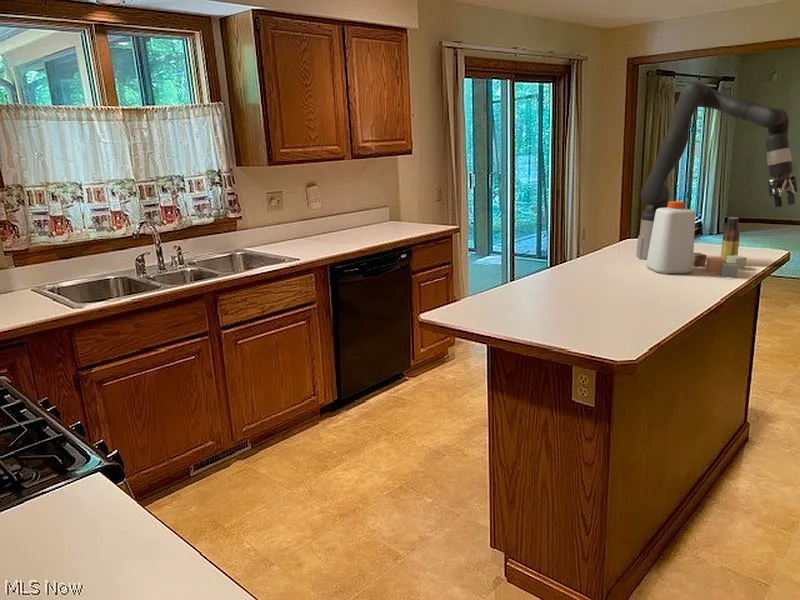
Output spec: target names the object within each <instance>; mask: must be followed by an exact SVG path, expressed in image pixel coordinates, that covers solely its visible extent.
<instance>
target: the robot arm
mask: <svg viewBox="0 0 800 600" xmlns="http://www.w3.org/2000/svg"><path fill="white" fill-rule="evenodd" d="M697 108H707V109H713V110H717V111H719V112H722V113H725V114H726V115H727V116H731V117H733V118H736V119H740V120H741V121H742V120H743V121H747V122H751V123H753V124H755V125H757V126H760V127H763V128H767V131H768V132H767V133H768V134H767V137H766V139H765V147H766V162H767V169H768V176H769V177H770V178H773V179H768V180H767V185H768V187H767V188H768V195H769V197H772V198H773V202H774V207H775V208H781V207H783V200H782V193H783V192H785V193H786V198H787V199H786V200H787V204H788V205H789V206H791V205H795V204H796V197H795V194H796V193H797V192H798V190H799V189H798V184H797V178H796V177H797V176H795V175H792V176H790V174H793V173H794V168H793V167H794V166H793V160H792V153H791V150H790V145H789V138H788V135H789V134H788V133H789V115H788V113H787V111H786V110H784V109H783V108H779V107H778V108H775V107H770V106H767V105H762V104H760V103H759V102H755V101H752V100H749V99H745V98H741V97H738V96H733V95H728V94H726V93H722V92H720V91H718V90H715V89H714V88H712V87H710V86H708V85H706V84H705V83H702V82H701V83H699V82H690V83H688V84H687V85H685V86H684V87H683V88H682V90H681V91H680V94H679V96H678V100H677V103H676V106H675V110H674V112H673V113H674V114H673V117H672V120H671V121H670V124H669V127H668V129H667V131H666V134H665V135H664V138H663V141H662V143H661V146H660V149H659V151H658V153H657V156H656V158H655V161H654V163H653V167H652V169H651V171H650V173H649V175H648V177H647V179H646V181H645V183H644V185H643V186H642V189H641V192H640V200H641V202H642V203H643V204H645V205H646V208H645V209H644V211H643V212H642V213H641V218H640V227H639V228H640V229H639V235H638V236H637V243H636V244H637V245H636V254H635V255H636V257H637V258H638V259H642V260H647V257H648V251H649V246H650V240H651V235H652V229H653V224H654V218H655V213H656V210H657V209H658V208H667V207H668V202H669V199H670V198H669V197H670V191H669V187H668V186H667V185H666V184H665V183H666V181H667V178H668V176H669V175H670V173H671V172H672V170H674V168H675V167H676V165H677V164H678V163H679V162H680V160H681V159H682V156H683V155H684V153H685V151H686V150H685V149H686V147H687V145H688V142H689V136H690V123H691V120H692V117H693V115H694V112H695V111H696V109H697Z"/></svg>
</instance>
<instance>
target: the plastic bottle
mask: <svg viewBox="0 0 800 600" xmlns="http://www.w3.org/2000/svg"><path fill="white" fill-rule="evenodd" d="M685 204H686V203H685V202H684V201H681V200H680V201H679V200H670V201H669V200H668V205H667V208H658V209H657V210H656V213H655V218H654V224H653V229H652V235H651V240H650V246H649V251H648V257H647V259H646V263H645V266H646V268H647V269H649V270H651V271H653V272H655V273H657V274H662V275H685V274H690V273H692V272H693V270H694V269H693V268H694V267H693V253H695V252H694V250H695V231H696V230H695V228H696V211H694V209H690V208H685Z"/></svg>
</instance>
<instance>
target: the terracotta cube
mask: <svg viewBox="0 0 800 600" xmlns="http://www.w3.org/2000/svg"><path fill="white" fill-rule="evenodd" d="M721 262H724V263H725V260H723V259H721V257H706V263H705V270H706V271H707V270H708V271H707V272H709V273H720V269H721Z"/></svg>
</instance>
